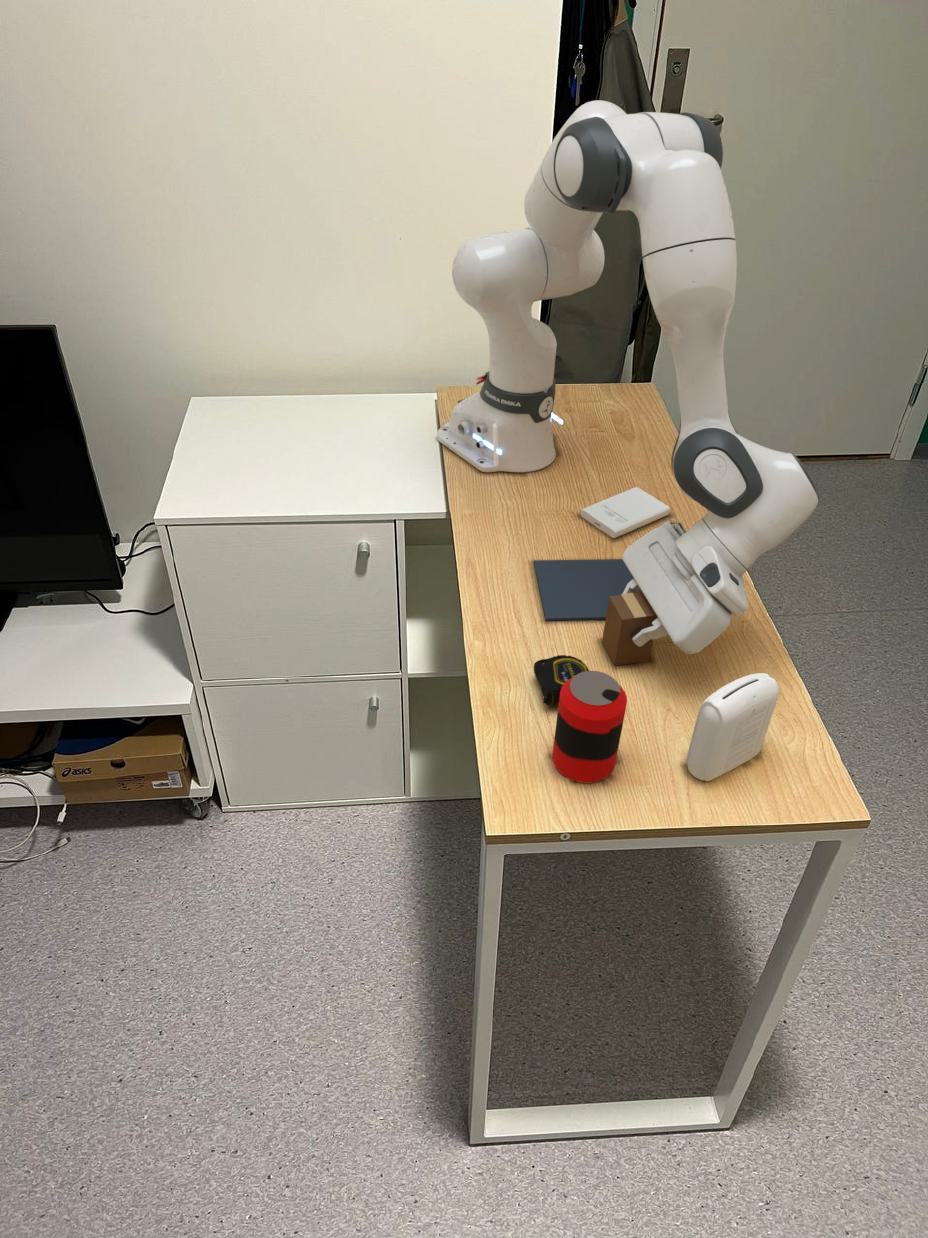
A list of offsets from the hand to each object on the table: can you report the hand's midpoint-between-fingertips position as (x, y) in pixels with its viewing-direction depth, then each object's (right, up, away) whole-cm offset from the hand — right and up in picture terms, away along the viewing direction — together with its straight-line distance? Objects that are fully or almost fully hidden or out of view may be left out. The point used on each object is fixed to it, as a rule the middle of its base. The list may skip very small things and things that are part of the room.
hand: (625, 626), depth 128 cm
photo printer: (+10, -16, -12) cm, 22 cm away
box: (0, -3, +3) cm, 5 cm away
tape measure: (-9, -9, -4) cm, 13 cm away
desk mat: (0, +5, +14) cm, 15 cm away
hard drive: (+5, +18, +30) cm, 35 cm away
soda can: (-7, -16, -13) cm, 22 cm away
